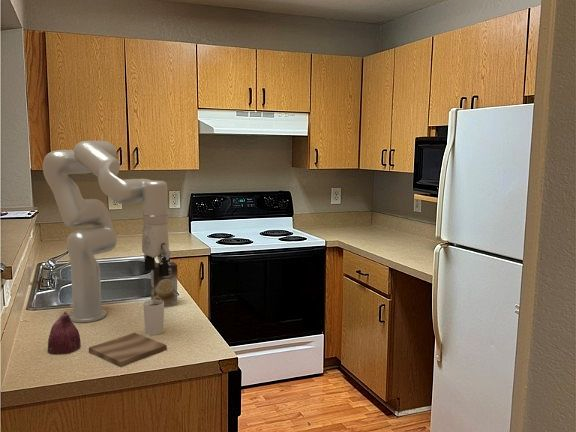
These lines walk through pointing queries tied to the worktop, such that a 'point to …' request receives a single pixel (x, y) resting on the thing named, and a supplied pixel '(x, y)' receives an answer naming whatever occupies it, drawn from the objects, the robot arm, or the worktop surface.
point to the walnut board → (127, 349)
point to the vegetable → (63, 336)
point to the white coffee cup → (153, 316)
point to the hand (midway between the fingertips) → (156, 273)
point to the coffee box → (165, 285)
